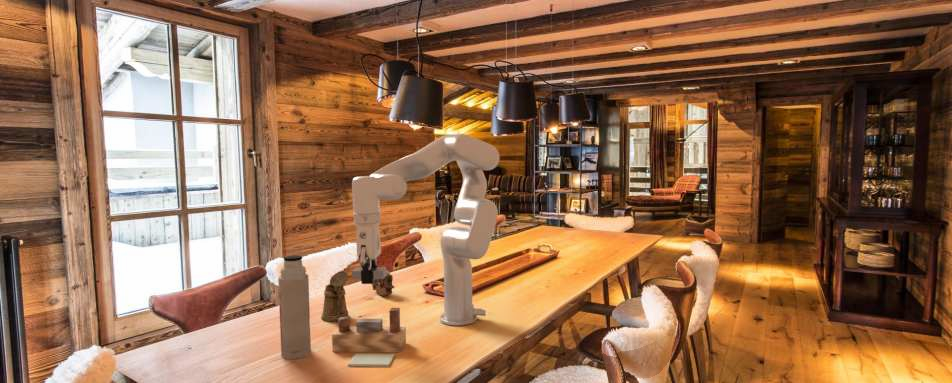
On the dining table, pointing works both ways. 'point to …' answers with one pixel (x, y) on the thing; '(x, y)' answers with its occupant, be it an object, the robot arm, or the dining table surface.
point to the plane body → (370, 335)
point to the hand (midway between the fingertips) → (369, 280)
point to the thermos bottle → (294, 309)
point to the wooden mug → (335, 298)
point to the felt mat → (371, 360)
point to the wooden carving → (383, 285)
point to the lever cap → (377, 272)
